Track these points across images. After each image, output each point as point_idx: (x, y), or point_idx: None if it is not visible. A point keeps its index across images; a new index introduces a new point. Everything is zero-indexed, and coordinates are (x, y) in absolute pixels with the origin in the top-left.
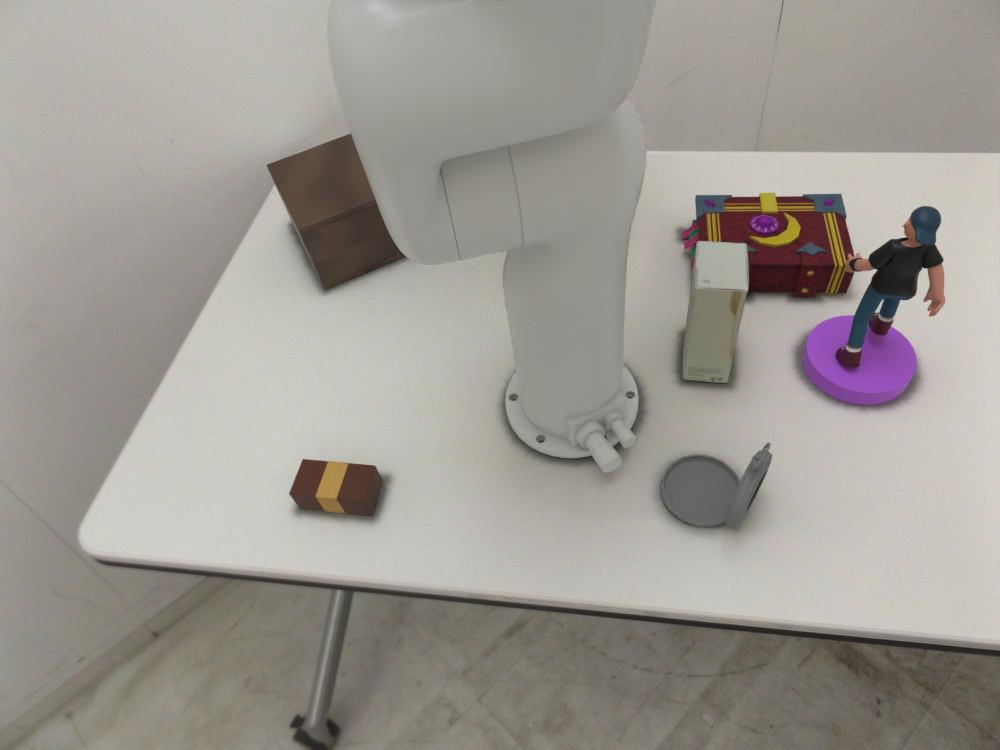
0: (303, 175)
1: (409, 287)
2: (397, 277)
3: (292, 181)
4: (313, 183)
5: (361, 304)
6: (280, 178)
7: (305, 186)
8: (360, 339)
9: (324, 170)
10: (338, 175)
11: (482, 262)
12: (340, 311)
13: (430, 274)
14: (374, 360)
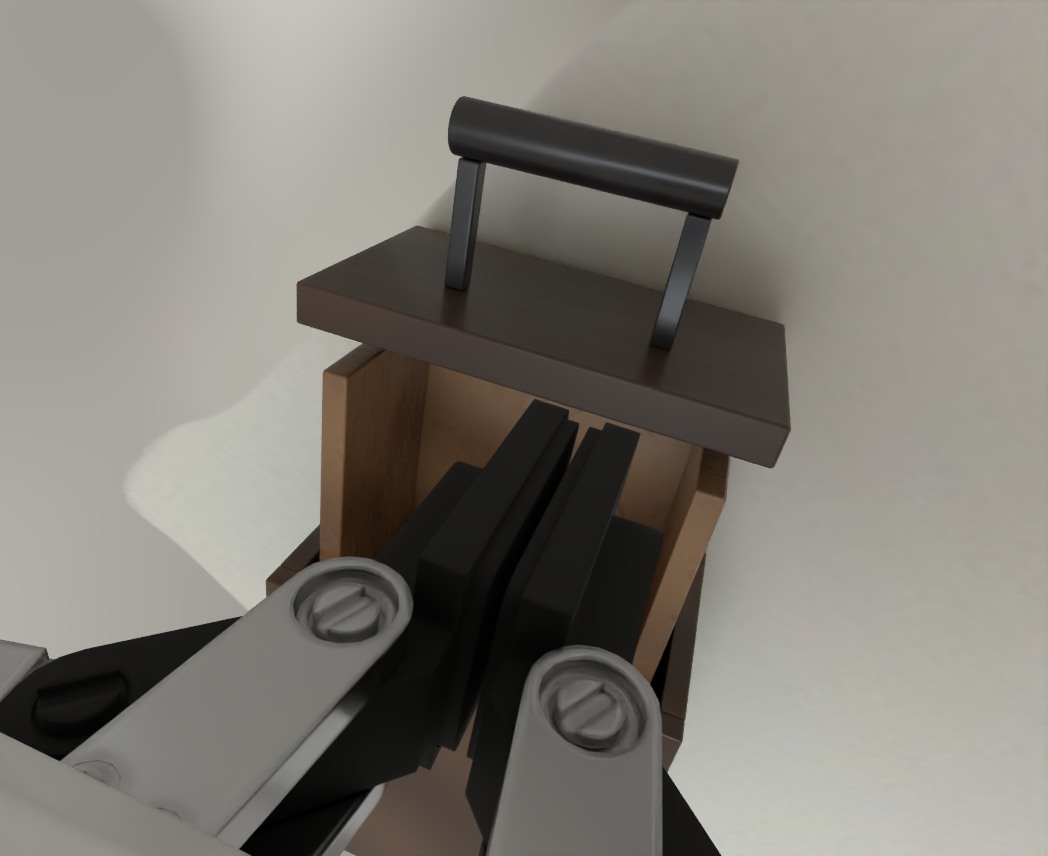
0: (379, 824)
1: (781, 690)
2: (723, 680)
3: (385, 846)
4: (431, 838)
5: (726, 762)
6: (352, 844)
7: (428, 851)
8: (817, 825)
9: (397, 797)
10: (446, 799)
11: (896, 545)
12: (704, 789)
13: (791, 640)
14: (898, 852)
